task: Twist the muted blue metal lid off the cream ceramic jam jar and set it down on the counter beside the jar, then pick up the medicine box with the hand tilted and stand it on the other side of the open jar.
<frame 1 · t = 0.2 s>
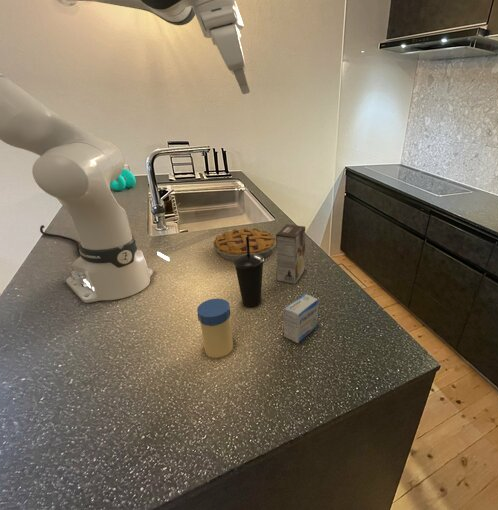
hand: (246, 93, 72), 52 cm above the worktop, tool tilted 20°, fingers open, 8 cm apart
jar: (219, 347, 69), on the worktop
pie: (245, 250, 113), on the worktop
medicine box: (301, 332, 76), on the worktop
drinking cup: (251, 303, 85), on the worktop
coffee box: (291, 275, 99), on the worktop
lid: (213, 308, 64), point 11 cm above the worktop, screwed on, not yet turned
teal lumpy blob: (123, 189, 164), on the worktop
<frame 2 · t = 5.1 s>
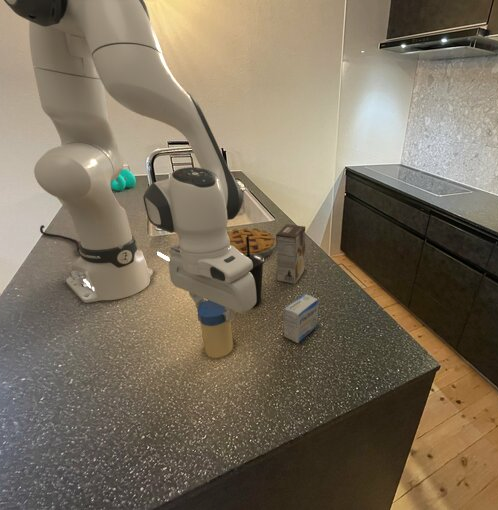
hand: (215, 313, 65), 10 cm above the worktop, tool pointing down, fingers closed on lid, 6 cm apart
lid: (213, 308, 64), point 11 cm above the worktop, screwed on, not yet turned, touching gripper
everything else where it was.
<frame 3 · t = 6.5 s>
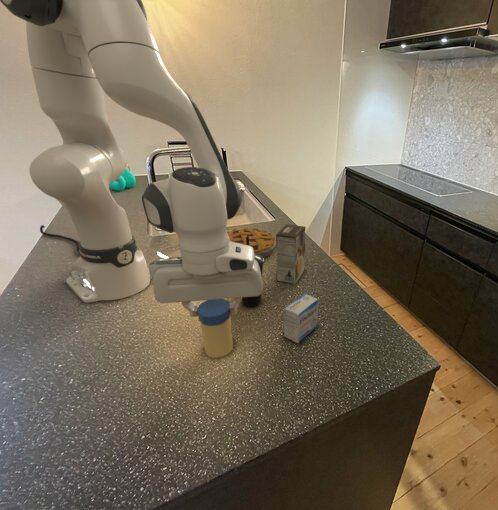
hand: (215, 313, 65), 10 cm above the worktop, tool pointing down, fingers closed on lid, 6 cm apart
lid: (214, 308, 64), point 11 cm above the worktop, turned 39° so far, risen 0.1 cm, still on its thread, touching gripper
everything else where it was.
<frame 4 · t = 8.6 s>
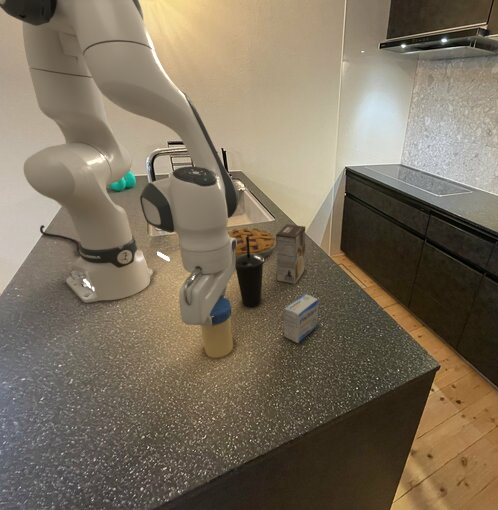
hand: (215, 312, 65), 10 cm above the worktop, tool pointing down, fingers closed on lid, 6 cm apart
lid: (214, 307, 64), point 11 cm above the worktop, off its thread, touching gripper
everything else where it was.
when the fingers open (0 cm above the worktop, at t = 15.7 s): lid stays where it is, point 2 cm above the worktop.
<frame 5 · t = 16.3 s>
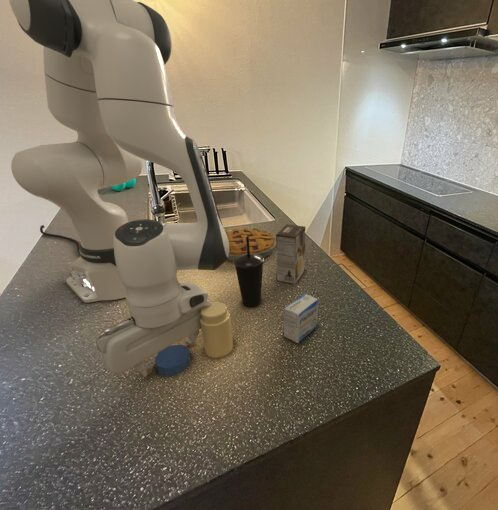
hand: (170, 359, 64), 1 cm above the worktop, tool pointing down, fingers open, 8 cm apart
lid: (172, 356, 64), point 2 cm above the worktop, off its thread
everything else where it was.
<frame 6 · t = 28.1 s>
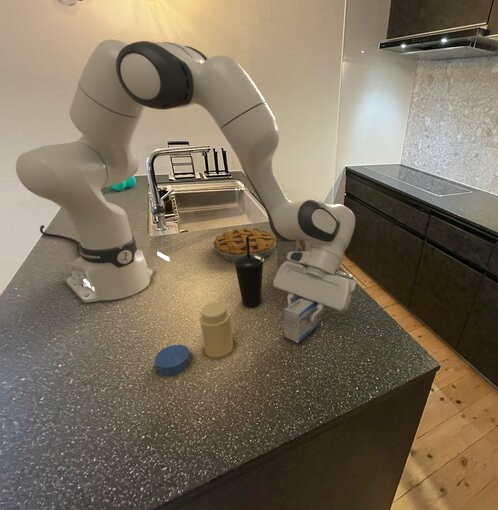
hand: (299, 317, 73), 5 cm above the worktop, tool tilted 45°, fingers closed on medicine box, 4 cm apart
medicine box: (301, 332, 76), on the worktop, touching gripper
everything else where it was.
when the fingers open (5 cm above the worktop, at t = 36.1 s): medicine box stays where it is, on the worktop.
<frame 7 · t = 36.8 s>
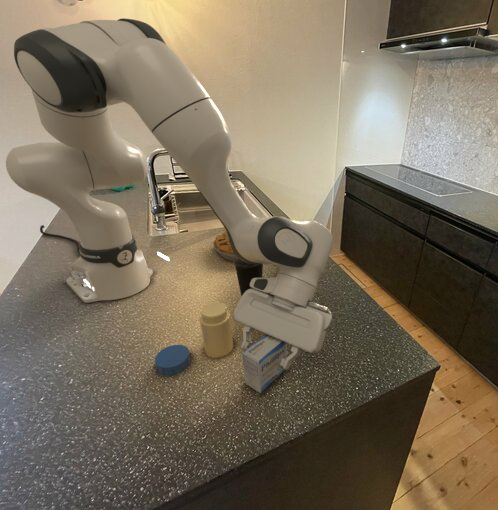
hand: (263, 358, 61), 5 cm above the worktop, tool tilted 45°, fingers open, 8 cm apart
medicine box: (266, 376, 63), on the worktop
everything else where it was.
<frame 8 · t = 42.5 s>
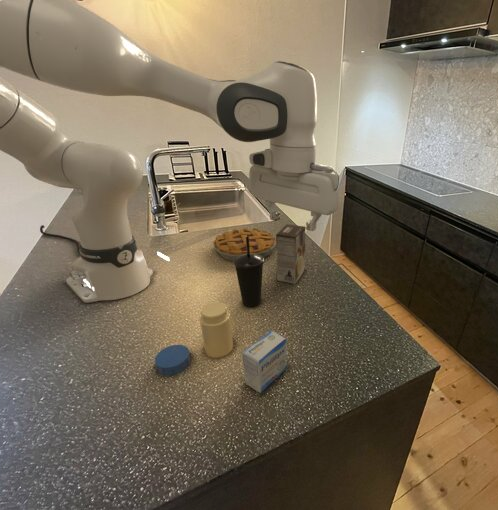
hand: (292, 224, 67), 27 cm above the worktop, tool pointing down, fingers open, 8 cm apart
nothing on the worktop moved.
at the end: lid came off its thread; lid point 1.9 cm above the worktop; the gripper is holding nothing; medicine box inside the target area (0.1 cm from its centre), on the worktop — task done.
